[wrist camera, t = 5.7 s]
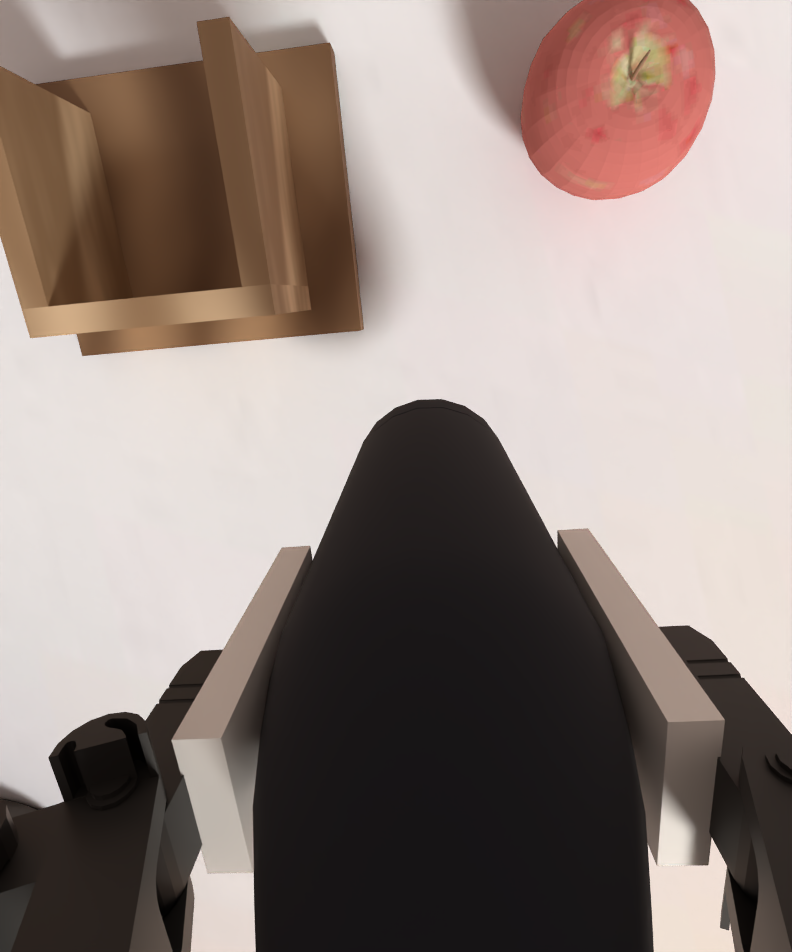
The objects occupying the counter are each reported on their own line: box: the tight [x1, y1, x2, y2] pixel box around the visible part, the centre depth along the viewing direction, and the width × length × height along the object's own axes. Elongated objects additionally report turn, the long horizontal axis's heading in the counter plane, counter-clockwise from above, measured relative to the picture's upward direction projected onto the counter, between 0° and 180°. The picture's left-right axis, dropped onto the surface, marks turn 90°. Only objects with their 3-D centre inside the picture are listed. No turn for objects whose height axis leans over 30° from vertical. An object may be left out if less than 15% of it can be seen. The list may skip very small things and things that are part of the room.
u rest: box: [0, 17, 364, 356], centre depth 25 cm, size 16×13×8 cm
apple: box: [521, 0, 715, 200], centre depth 23 cm, size 7×7×8 cm
